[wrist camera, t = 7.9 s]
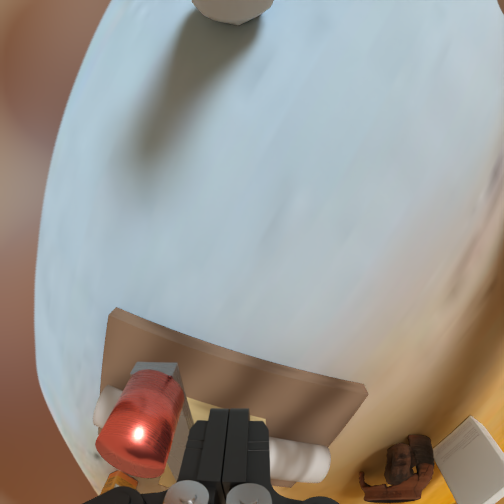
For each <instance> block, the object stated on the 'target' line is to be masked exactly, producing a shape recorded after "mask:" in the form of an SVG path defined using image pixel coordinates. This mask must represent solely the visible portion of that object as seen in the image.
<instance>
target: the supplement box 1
mask: <svg viewBox="0 0 504 504" xmlns="http://www.w3.org/2000/svg"><path fill="white" fill-rule="evenodd" d="M137 484H138V481H137V480H135V479H134V478H132V477H130V476H129V475H127V474H126V473H124V472H122V471H120V470H118V471H116V472H113V473H111V474H110V475H109V477H108V479H107V481H106V483H105V485H104V487H103V490H102V492H101V494H103V493H105V492H107V491H109V490H111V489H113V488H115V487H119V486H127V487H131V488H133V489H135V490H136V487H137ZM101 494H100V495H101Z"/></svg>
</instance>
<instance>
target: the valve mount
mask: <svg viewBox="0 0 504 504" xmlns="http://www.w3.org/2000/svg"><path fill="white" fill-rule="evenodd" d="M137 362H165V363H178V367H179V371H180V375H181V379H182V383H183V386H184V390H185V394H186V397H187V401H188V404H189V408H190V411H191V415H192V418H193V421H194V424H195V422H196V421H197V420H206V421H208V418H209V413H210V409H211V408H224V409H231V408H249V411H250V421H263V422H264V423H265V425H266V426H267V428H268V430H269V451H270V479H271V485H273V486H281V487H290V488H291V487H292V486H293V485H294V484H295V483H296V482H307V483H319V482H321V481H322V480H323V479H324V478H325V477H326V475H327V473H328V470H329V467H330V462H331V455H330V451H329V449H328V447H329V445H330V444H331V443H332V442H333V441H334V439H335V438H336V437H337V436H338V434H339V433H340V432H341V431H342V429H343V428H344V427H345V426H346V424H347V423H348V422H349V420H350V419H351V418H352V416H353V415H354V414H355V412H356V411H357V410H358V408H359V407H360V406H361V404H362V403H363V401H364V400H365V399H366V397H367V396H368V392H367V390H366V388H365V386H364V384H360V383H355V382H351V381H346V380H341V379H337V378H332V377H328V376H323V375H319V374H315V373H311V372H307V371H303V370H299V369H295V368H291V367H287V366H284V365H280V364H276V363H273V362H269V361H266V360H262V359H259V358H255V357H252V356H249V355H245V354H242V353H239V352H236V351H233V350H229V349H226V348H223V347H220V346H217V345H214V344H211V343H208V342H205V341H202V340H199V339H197V338H194V337H191V336H188V335H185V334H183V333H180V332H177V331H174V330H172V329H169V328H166V327H164V326H161V325H159V324H156V323H154V322H151V321H148V320H146V319H143V318H141V317H139V316H136V315H134V314H131V313H129V312H127V311H124V310H122V309H119V308H117V307H116V308H115V309H114V310H113V311H112V312H111V313H110V314H109V316H108V323H107V330H106V337H105V345H104V354H103V363H102V374H101V386H100V397H99V399H98V401H97V404H96V407H95V411H94V416H93V423H94V425H96V426H98V427H99V428H98V435H99V434H100V432H101V430H102V428H103V427H104V425H105V423H106V421H107V419H108V417H109V415H110V414H111V412H112V410H113V408H114V406H115V404H116V403H117V401H118V399H119V397H120V395H121V394H122V392H123V390H124V388H125V387H126V385H127V383H128V381H129V379H130V378H131V376H130V373H131V371H132V369H133V368H134V366H135V364H136V363H137ZM175 483H176V480H175V478H174V476H173V474H172V472H171V470H170V468H169V466H168V464H167V463H166V467H165V471H164V473H163V474H162V475H161V477H160V481H159V485H162V486H166V487H169V488H170V487H171V486H172V485H173V484H175Z"/></svg>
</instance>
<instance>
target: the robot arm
mask: <svg viewBox="0 0 504 504" xmlns="http://www.w3.org/2000/svg"><path fill="white" fill-rule="evenodd" d="M83 504H339V503H338V502H336V501H335V500H333V499H331V498H328V497H322V496H318V497H312V498H309V499H306V500H305V501H299V500H294V499H289V498H285V497H283V496H281V495H279V494H278V493H277V492H276V491H275V490H274V489H273V487H272V485H271V479H270V451H269V430H268V428H267V426H266V425H265V423H264V422H263V421H250V411H249V408H231V409H224V408H211V409H210V413H209V418H208V421H206V420H197V421H196V422H195V424H194V425H193V426H192V427H191V428H190V431H189V435H188V441H187V443H186V449H185V451H184V455H183V460H182V464H181V468H180V472H179V476H178V479H177V481H176V483H175V484H173V485H172V486H171V487H170V488H169V489H168V490H166V491H163V492H159V493H149V494H140V493H139V492H138V491H137V490H135V489H133V488H131V487H127V486H119V487H115V488H113V489H111V490H109V491H107V492H105V493H103V494H101V495H99V496H97V497H95V498H93V499H91V500H89V501H87V502H85V503H83Z"/></svg>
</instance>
